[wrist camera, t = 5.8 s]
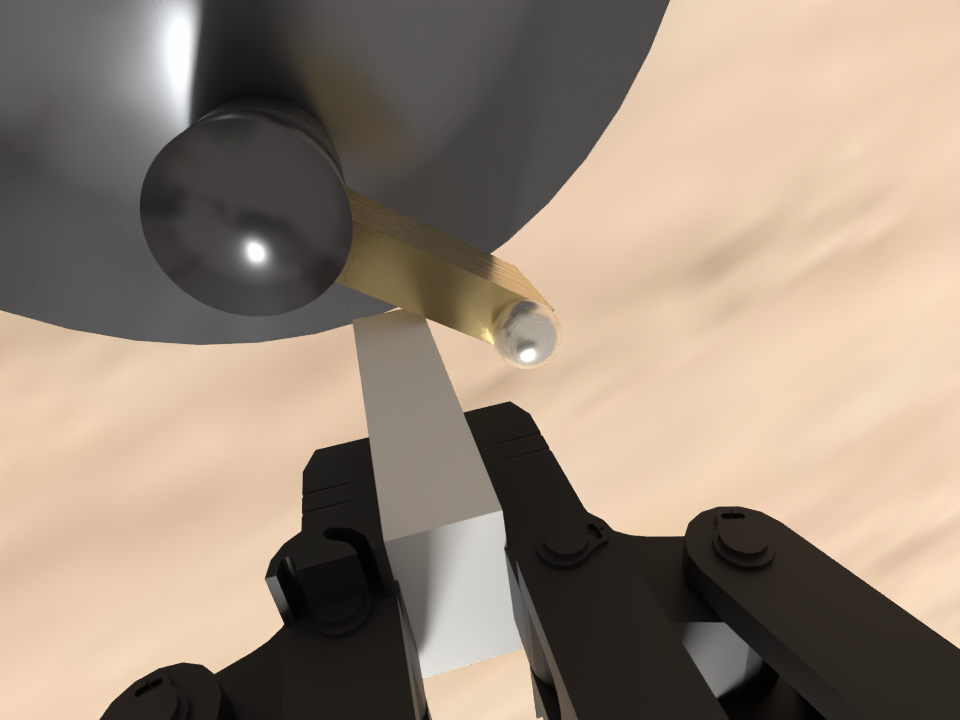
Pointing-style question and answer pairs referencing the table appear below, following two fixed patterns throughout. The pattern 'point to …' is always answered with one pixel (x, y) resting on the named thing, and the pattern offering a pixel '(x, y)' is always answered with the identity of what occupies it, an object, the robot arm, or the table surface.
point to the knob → (317, 234)
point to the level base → (313, 88)
